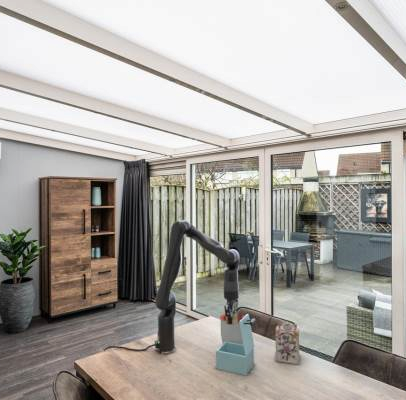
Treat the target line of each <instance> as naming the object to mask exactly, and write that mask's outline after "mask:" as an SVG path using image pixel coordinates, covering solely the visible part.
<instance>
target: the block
mask: <svg viewBox="0 0 406 400" xmlns="http://www.w3.org/2000/svg"><path fill="white" fill-rule="evenodd" d="M237 316H238V312H236V313H232V324H231V325H235V324H236V323H237ZM226 324H228V317H226Z"/></svg>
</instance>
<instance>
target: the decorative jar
mask: <svg viewBox="0 0 406 400" xmlns="http://www.w3.org/2000/svg"><path fill="white" fill-rule="evenodd" d="M274 336H275V361H276V362H277V363H284V364H291V365H299V364H300V330H299V328H298V327H297V326H294V325H292V323H289V322H283V323H282V324H280V325H279V324H278V325H277V326H275V334H274Z"/></svg>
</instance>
